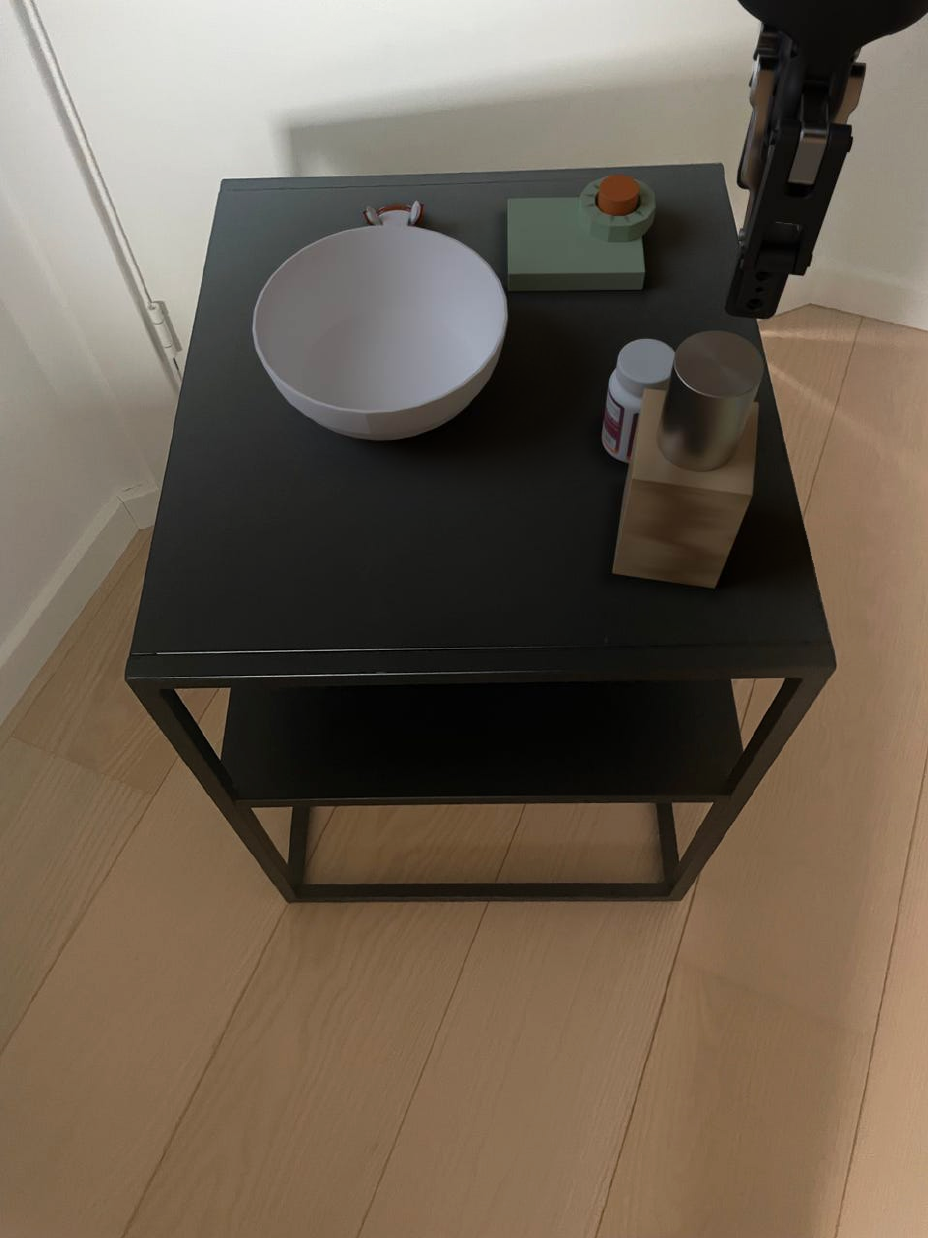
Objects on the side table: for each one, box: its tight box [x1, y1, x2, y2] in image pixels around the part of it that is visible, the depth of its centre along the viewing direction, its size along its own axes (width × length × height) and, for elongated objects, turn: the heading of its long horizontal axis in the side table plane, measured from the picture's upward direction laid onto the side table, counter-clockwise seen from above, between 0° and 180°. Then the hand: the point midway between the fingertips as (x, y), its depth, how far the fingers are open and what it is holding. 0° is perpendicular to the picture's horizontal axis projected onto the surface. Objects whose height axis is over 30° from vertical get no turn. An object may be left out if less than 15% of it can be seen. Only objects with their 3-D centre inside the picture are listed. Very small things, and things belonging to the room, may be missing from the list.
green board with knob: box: [506, 175, 657, 292], centre depth 79 cm, size 12×10×4 cm
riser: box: [612, 388, 760, 589], centre depth 62 cm, size 7×7×11 cm
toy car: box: [362, 200, 425, 227], centre depth 80 cm, size 5×8×3 cm, turn 2°
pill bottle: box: [601, 338, 676, 464], centre depth 67 cm, size 5×5×8 cm
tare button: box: [598, 174, 639, 216], centre depth 78 cm, size 3×3×2 cm
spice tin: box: [657, 330, 765, 471], centre depth 54 cm, size 5×5×6 cm
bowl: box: [252, 225, 509, 441], centre depth 71 cm, size 18×18×7 cm
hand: (753, 245), depth 45 cm, fingers open, 8 cm apart
